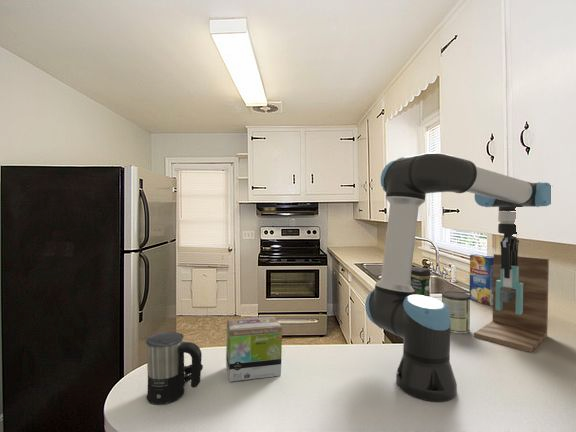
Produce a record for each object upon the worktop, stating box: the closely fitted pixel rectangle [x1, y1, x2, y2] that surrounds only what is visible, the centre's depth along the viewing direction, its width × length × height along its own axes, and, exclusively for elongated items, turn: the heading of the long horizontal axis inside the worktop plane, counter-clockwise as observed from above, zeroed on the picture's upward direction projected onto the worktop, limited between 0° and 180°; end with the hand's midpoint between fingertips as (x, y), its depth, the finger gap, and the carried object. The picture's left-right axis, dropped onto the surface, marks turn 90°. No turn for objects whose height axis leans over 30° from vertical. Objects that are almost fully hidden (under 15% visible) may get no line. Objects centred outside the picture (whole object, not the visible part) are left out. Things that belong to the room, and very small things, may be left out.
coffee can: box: [441, 290, 471, 335], centre depth 133 cm, size 10×10×14 cm
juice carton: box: [468, 253, 494, 306], centre depth 173 cm, size 12×8×24 cm, turn 21°
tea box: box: [225, 316, 283, 383], centre depth 97 cm, size 15×10×15 cm, turn 105°
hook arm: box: [500, 289, 516, 303], centre depth 125 cm, size 18×2×4 cm, turn 131°
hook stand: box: [473, 253, 550, 353], centre depth 125 cm, size 22×18×30 cm
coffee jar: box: [410, 266, 431, 297], centre depth 168 cm, size 10×8×19 cm
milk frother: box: [145, 331, 204, 405], centre depth 89 cm, size 14×16×15 cm
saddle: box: [495, 266, 523, 315], centre depth 123 cm, size 3×8×17 cm, turn 41°
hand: (509, 285), depth 123 cm, fingers closed on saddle, 3 cm apart
